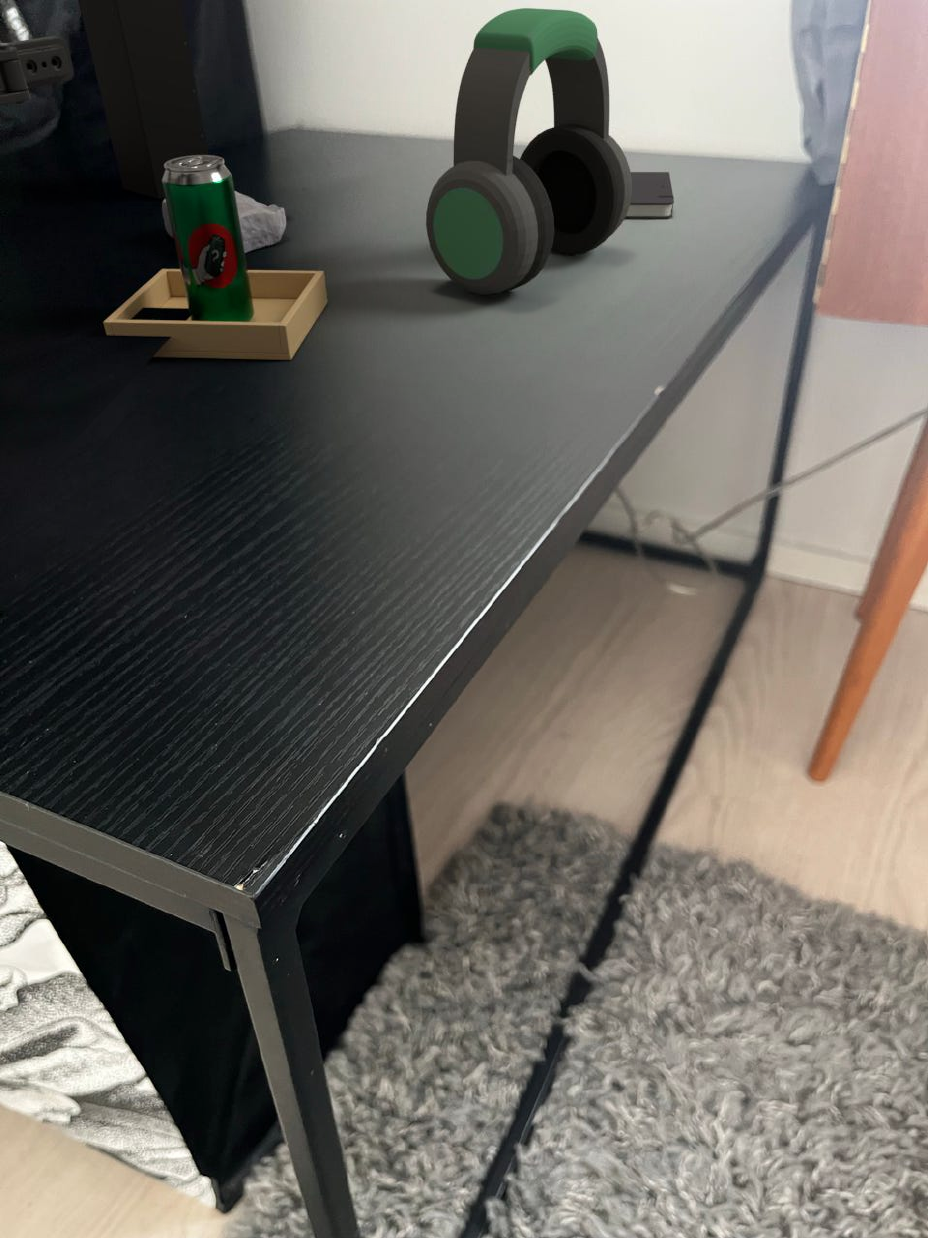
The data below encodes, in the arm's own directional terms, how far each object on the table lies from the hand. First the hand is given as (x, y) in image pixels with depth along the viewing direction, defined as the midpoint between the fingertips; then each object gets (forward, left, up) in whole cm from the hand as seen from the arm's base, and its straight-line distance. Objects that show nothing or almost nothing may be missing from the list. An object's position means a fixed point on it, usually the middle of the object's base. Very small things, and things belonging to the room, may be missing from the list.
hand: (24, 51), depth 57 cm
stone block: (-1, +34, -21) cm, 39 cm away
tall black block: (-15, +52, -21) cm, 59 cm away
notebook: (+33, +47, -21) cm, 61 cm away
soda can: (+6, +9, -20) cm, 23 cm away
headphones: (+30, +25, -21) cm, 44 cm away
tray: (+6, +9, -21) cm, 23 cm away
